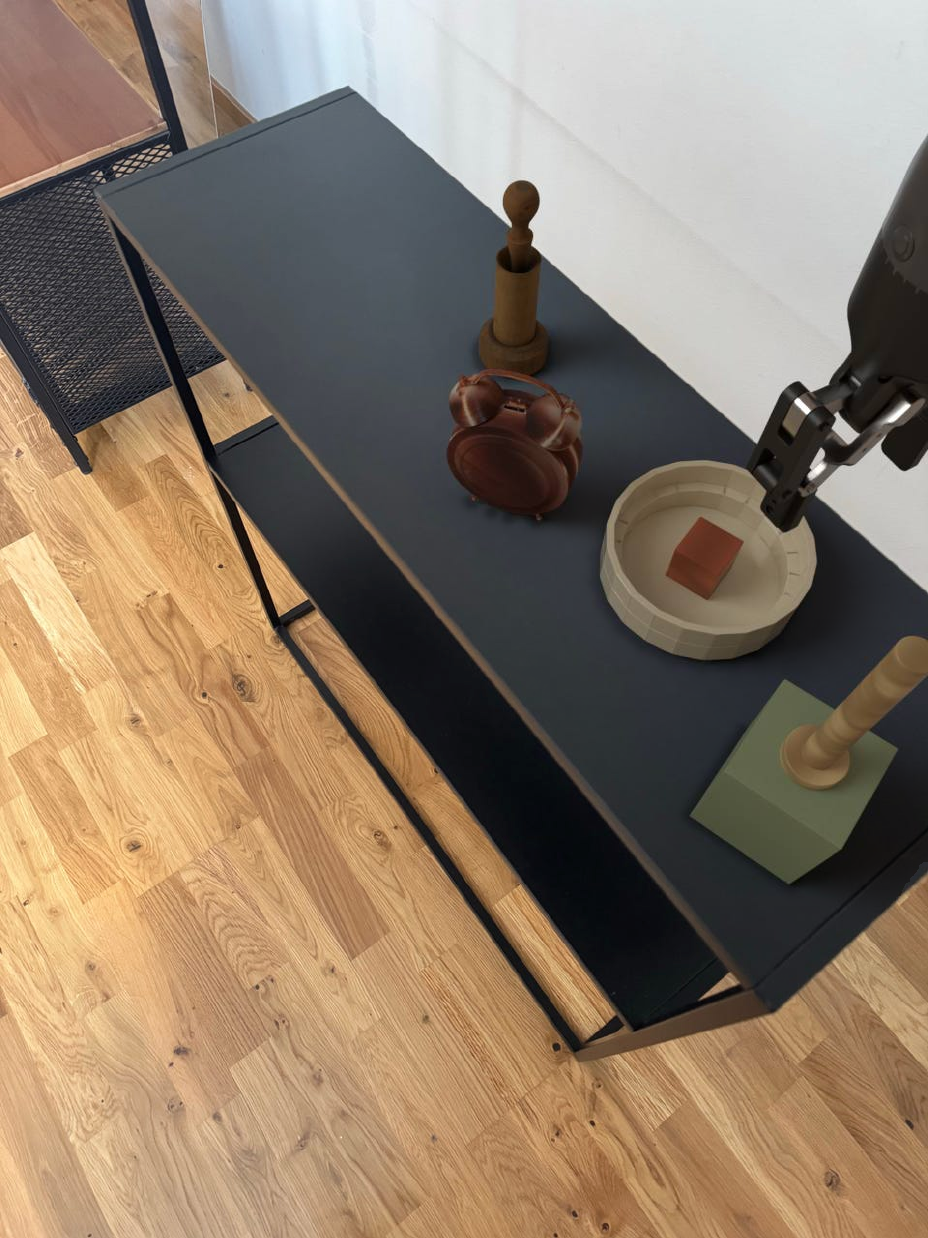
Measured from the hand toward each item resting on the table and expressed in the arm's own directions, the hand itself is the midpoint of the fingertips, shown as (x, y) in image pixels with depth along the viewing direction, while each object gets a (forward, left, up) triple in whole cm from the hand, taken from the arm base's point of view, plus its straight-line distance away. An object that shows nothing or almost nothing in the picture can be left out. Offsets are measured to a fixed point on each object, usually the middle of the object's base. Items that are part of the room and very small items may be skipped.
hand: (838, 488), depth 50 cm
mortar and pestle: (+33, -16, -23) cm, 44 cm away
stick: (-8, +9, -13) cm, 17 cm away
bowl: (+6, -5, -23) cm, 24 cm away
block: (+6, -5, -22) cm, 24 cm away
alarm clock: (+23, -2, -23) cm, 33 cm away
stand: (-8, +9, -23) cm, 26 cm away
